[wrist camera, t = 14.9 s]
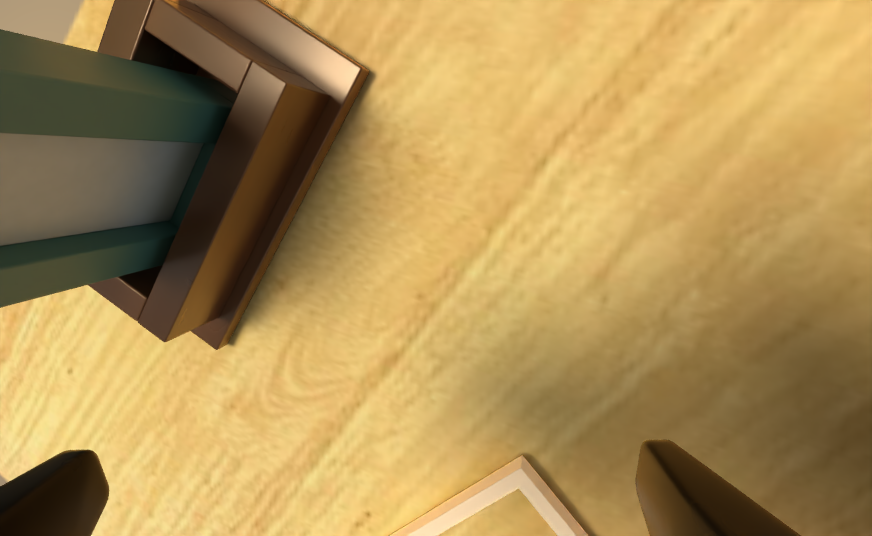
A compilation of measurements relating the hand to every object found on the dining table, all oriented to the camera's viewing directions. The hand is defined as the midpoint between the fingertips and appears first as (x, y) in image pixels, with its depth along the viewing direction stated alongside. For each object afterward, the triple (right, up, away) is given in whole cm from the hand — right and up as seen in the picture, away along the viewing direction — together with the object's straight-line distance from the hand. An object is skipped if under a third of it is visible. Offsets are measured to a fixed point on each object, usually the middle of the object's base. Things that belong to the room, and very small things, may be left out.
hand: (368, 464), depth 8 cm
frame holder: (-8, +8, +13) cm, 17 cm away
